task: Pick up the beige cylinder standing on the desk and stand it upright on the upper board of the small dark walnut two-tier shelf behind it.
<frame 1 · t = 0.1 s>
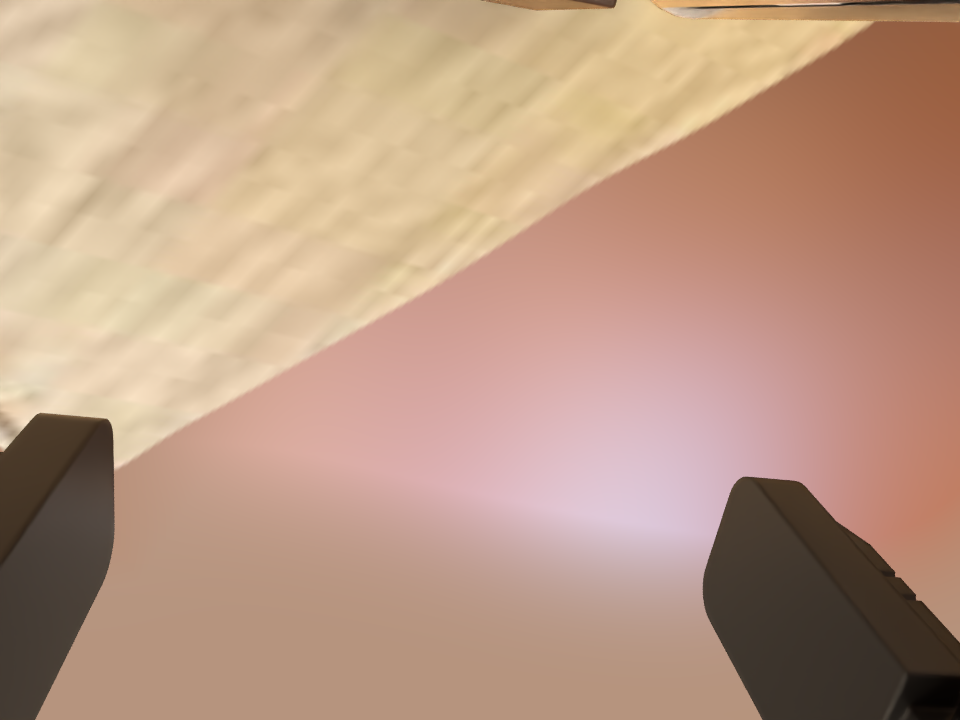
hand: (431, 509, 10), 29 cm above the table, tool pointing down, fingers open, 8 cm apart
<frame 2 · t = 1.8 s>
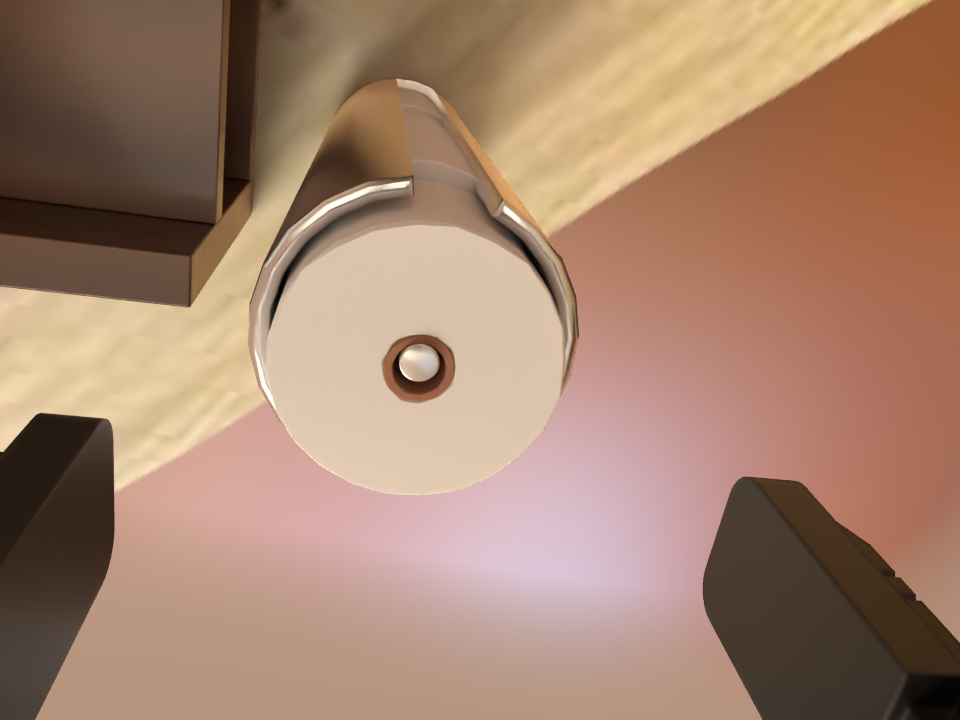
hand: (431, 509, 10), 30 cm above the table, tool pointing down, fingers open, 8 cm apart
beige cylinder: (398, 150, 38), on the table
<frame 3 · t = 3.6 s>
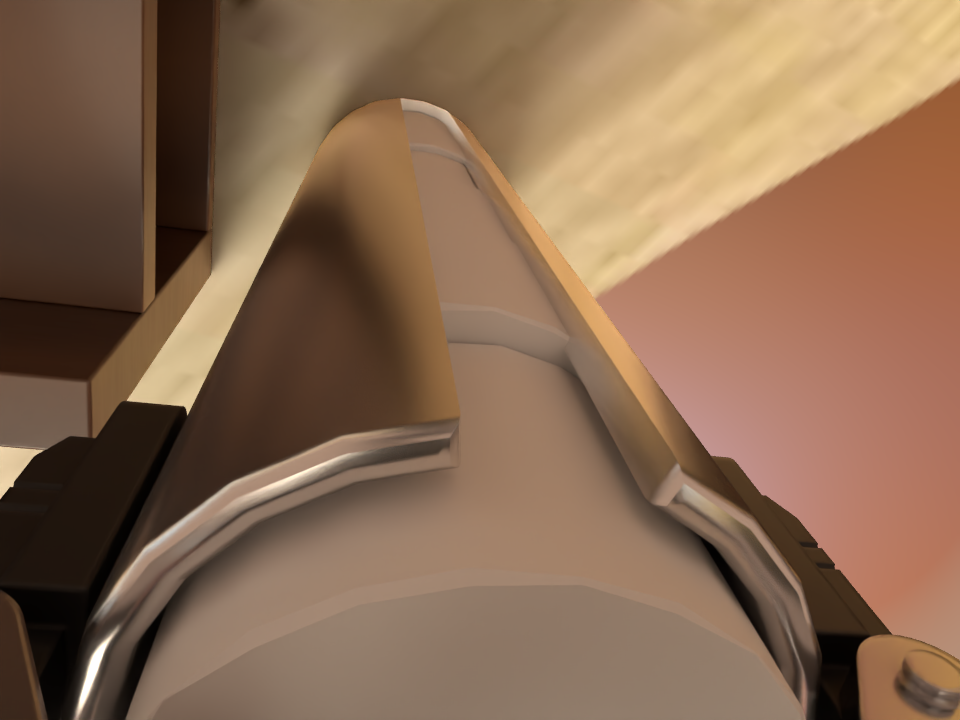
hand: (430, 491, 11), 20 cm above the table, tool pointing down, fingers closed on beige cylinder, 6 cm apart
beige cylinder: (402, 191, 29), on the table, touching gripper
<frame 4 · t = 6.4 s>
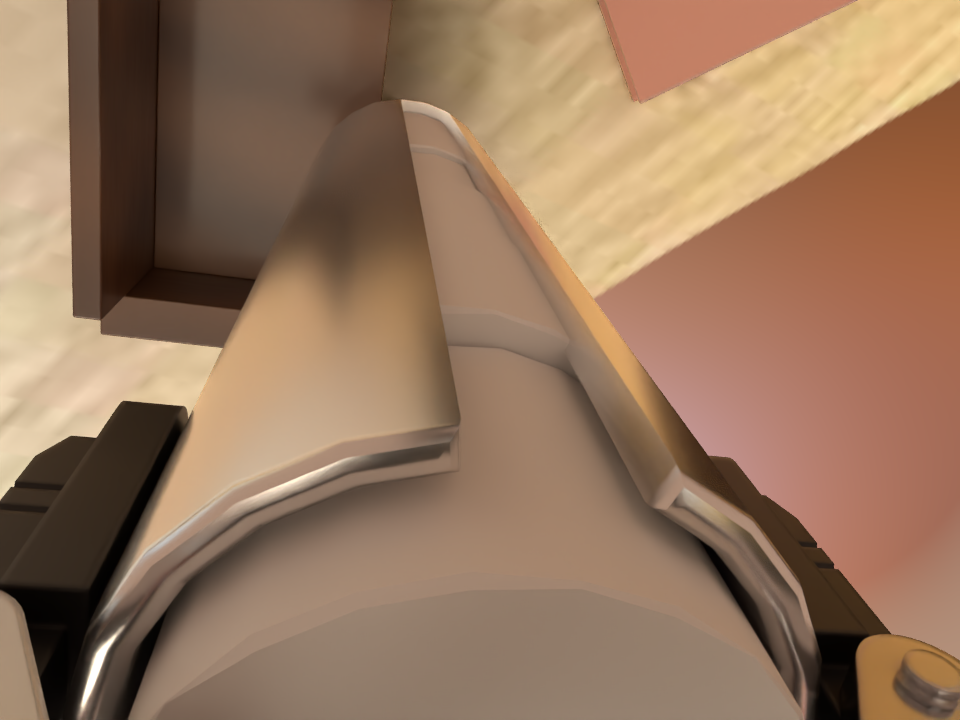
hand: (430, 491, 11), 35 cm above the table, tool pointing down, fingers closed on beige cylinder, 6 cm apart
beige cylinder: (402, 192, 29), point 15 cm above the table, touching gripper
shelf: (285, 56, 41), on the table
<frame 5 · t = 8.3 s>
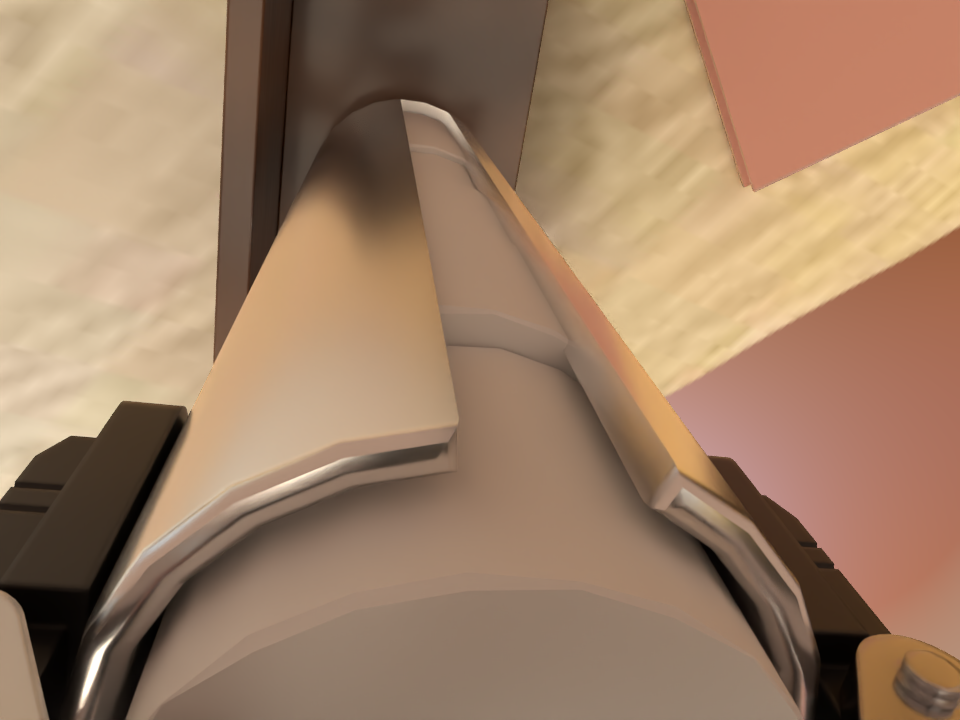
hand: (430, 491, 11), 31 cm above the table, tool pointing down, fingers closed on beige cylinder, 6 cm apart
beige cylinder: (402, 191, 29), point 11 cm above the table, touching gripper
shelf: (386, 147, 39), on the table
when the fingers open (29 cm above the table, at t = 9.6 s): beige cylinder stays where it is, resting on shelf.
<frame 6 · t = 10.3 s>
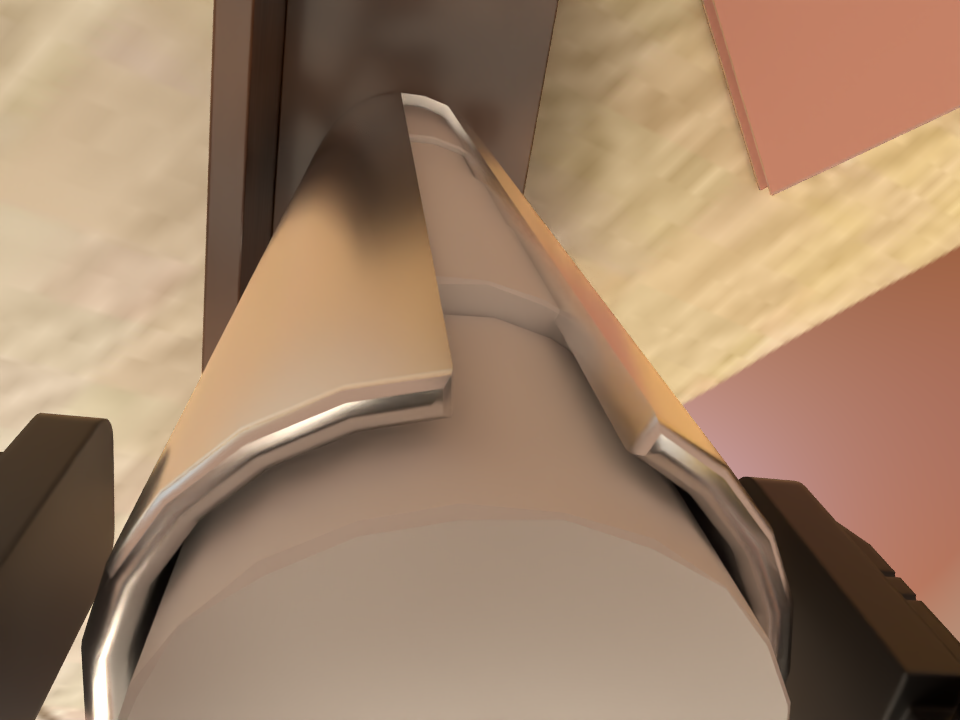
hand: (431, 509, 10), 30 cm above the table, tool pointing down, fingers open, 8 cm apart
beige cylinder: (402, 184, 29), point 9 cm above the table, touching shelf
shelf: (387, 149, 37), on the table
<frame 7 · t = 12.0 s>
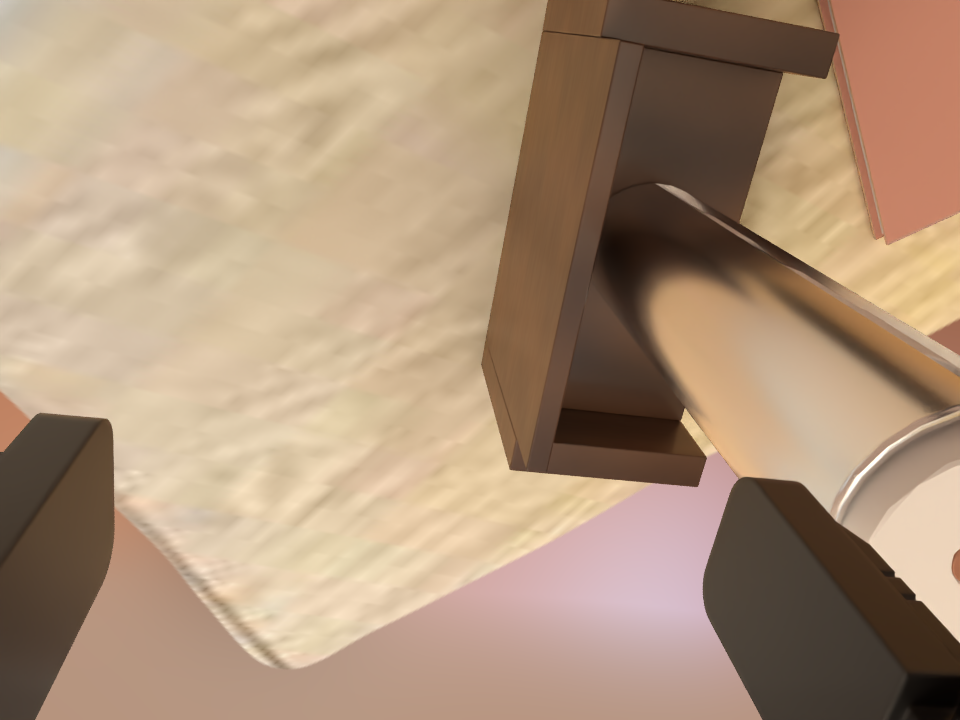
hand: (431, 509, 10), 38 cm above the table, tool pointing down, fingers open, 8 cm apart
beige cylinder: (644, 246, 40), point 9 cm above the table, touching shelf
shelf: (592, 208, 48), on the table
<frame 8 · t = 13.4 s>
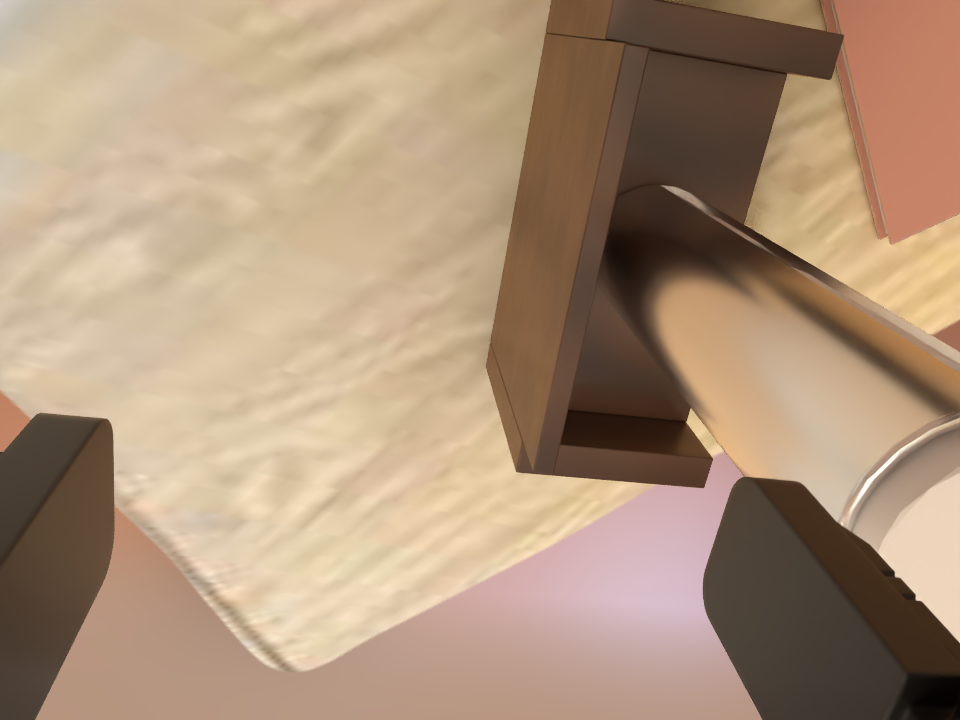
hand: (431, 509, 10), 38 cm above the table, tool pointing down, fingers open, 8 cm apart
beige cylinder: (649, 247, 40), point 9 cm above the table, touching shelf
shelf: (596, 210, 48), on the table
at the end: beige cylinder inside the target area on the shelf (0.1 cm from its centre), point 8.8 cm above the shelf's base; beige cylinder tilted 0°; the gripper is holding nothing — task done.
